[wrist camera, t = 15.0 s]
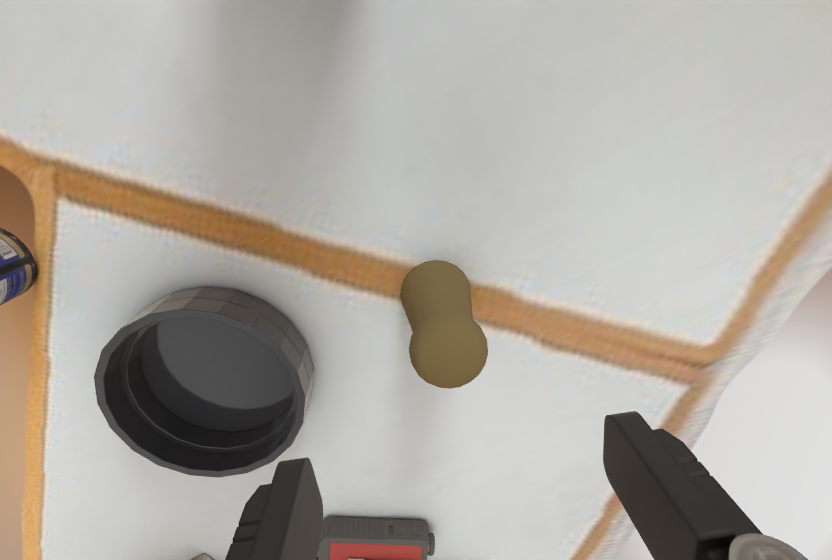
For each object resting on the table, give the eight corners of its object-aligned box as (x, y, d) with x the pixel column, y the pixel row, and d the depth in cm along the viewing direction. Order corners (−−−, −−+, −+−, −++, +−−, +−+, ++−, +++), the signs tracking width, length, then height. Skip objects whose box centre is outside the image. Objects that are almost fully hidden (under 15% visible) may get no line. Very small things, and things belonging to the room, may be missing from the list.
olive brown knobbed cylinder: (413, 333, 39) (420, 414, 29) (390, 273, 36) (390, 338, 26) (478, 312, 38) (509, 387, 28) (459, 251, 36) (485, 308, 26)
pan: (96, 302, 36) (57, 328, 32) (287, 271, 36) (273, 294, 32) (168, 450, 42) (142, 489, 38) (331, 425, 42) (324, 461, 38)
